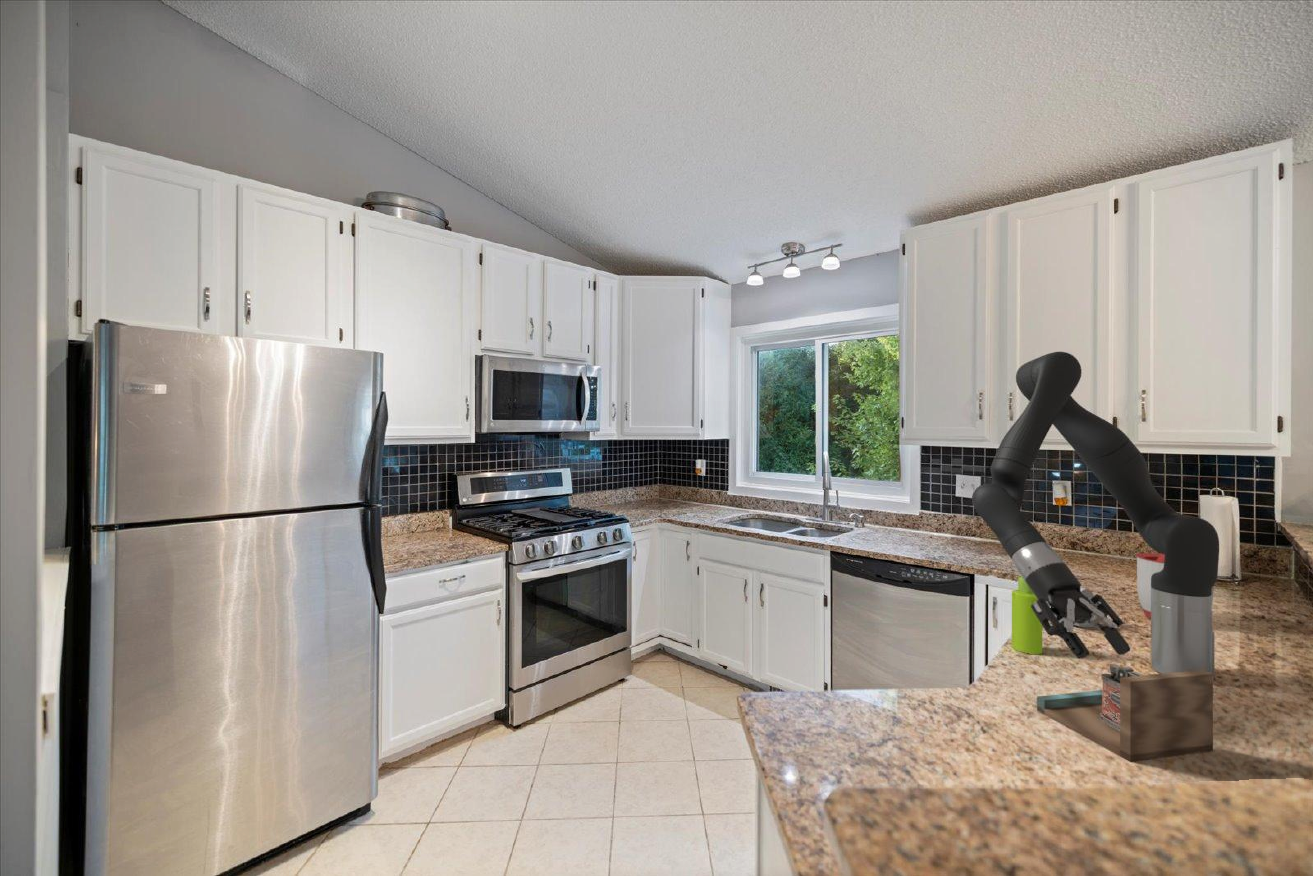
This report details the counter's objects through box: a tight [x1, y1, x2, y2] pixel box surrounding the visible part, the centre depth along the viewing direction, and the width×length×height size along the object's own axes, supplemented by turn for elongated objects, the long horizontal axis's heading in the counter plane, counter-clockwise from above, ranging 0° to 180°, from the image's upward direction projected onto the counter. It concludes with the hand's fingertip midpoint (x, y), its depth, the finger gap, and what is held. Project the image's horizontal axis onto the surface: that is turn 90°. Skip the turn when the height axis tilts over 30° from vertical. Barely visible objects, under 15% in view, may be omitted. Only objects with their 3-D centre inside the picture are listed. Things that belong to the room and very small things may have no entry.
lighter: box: [1100, 663, 1144, 731], centre depth 90 cm, size 8×3×10 cm, turn 8°
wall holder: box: [1036, 670, 1214, 763], centre depth 92 cm, size 16×16×12 cm
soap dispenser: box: [1011, 575, 1043, 655], centre depth 127 cm, size 6×7×20 cm
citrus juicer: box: [1135, 552, 1214, 619], centre depth 148 cm, size 16×17×20 cm
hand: (1105, 654), depth 93 cm, fingers open, 8 cm apart
